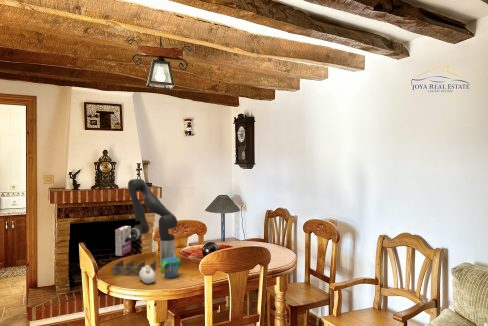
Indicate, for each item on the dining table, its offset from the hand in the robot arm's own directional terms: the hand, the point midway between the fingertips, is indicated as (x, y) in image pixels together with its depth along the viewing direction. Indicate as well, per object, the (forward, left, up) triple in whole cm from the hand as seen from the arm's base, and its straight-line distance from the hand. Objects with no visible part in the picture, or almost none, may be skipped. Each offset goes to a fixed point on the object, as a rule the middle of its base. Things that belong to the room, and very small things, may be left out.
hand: (121, 240), depth 229 cm
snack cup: (-33, +5, -20) cm, 39 cm away
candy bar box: (0, -3, -9) cm, 9 cm away
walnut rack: (-8, -2, -20) cm, 21 cm away
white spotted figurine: (-22, +15, -20) cm, 33 cm away
